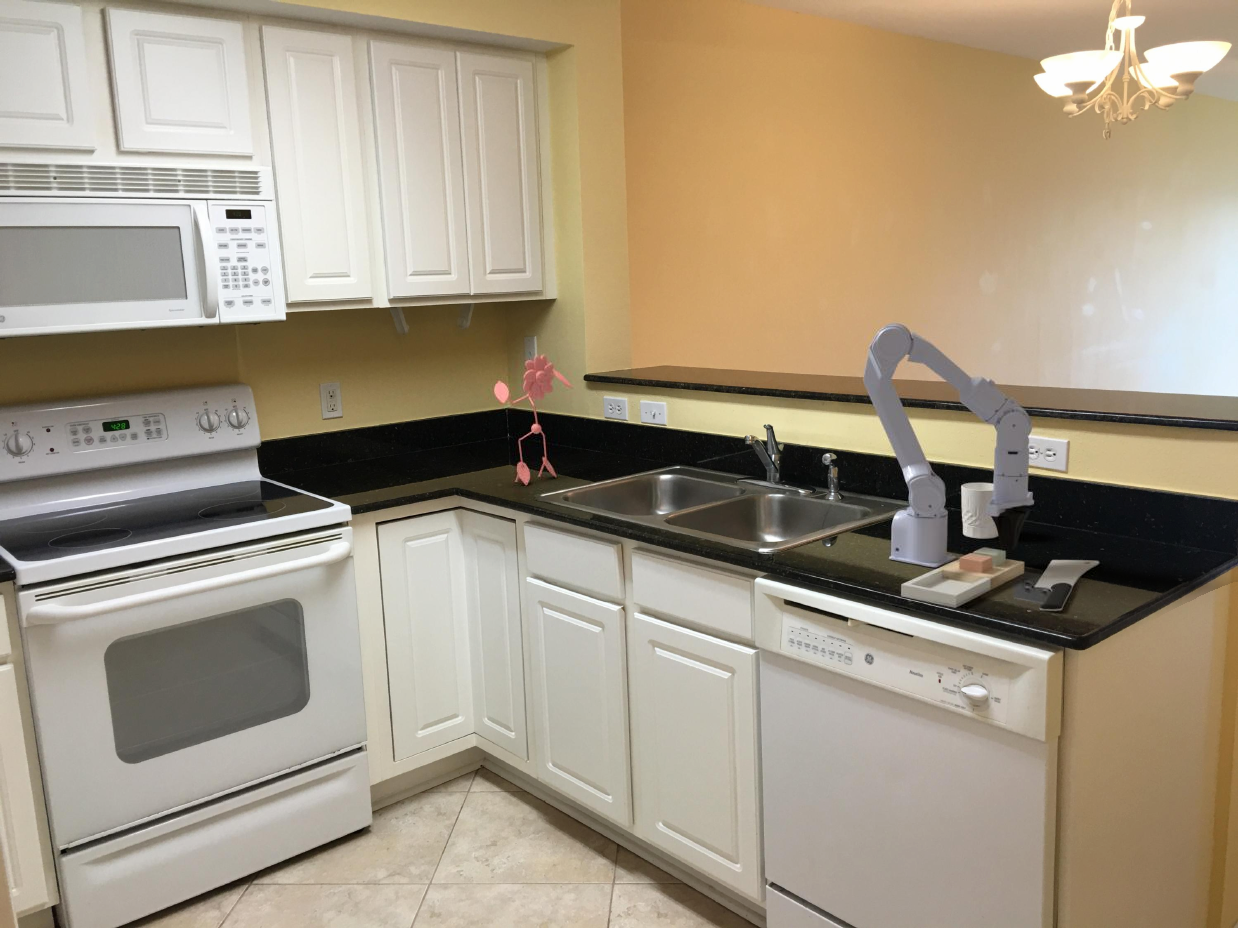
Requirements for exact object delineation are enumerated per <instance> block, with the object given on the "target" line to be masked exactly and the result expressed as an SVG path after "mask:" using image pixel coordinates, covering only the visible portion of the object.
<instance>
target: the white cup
mask: <svg viewBox="0 0 1238 928" xmlns="http://www.w3.org/2000/svg"><path fill="white" fill-rule="evenodd" d="M993 484H994V483H990V482H968V483H964V484H961V487H960V489H961V517H962V518H961V521H962V534H963V535H964V536H965V537H967V538H968V537H969V538H973V539H987V540H988V539H995V538H997V537H999V535H998V531H997V528H996V525H995V523H994V521H993V519H992V517H991V516H990V515H986V505H987V504H989V503H990V501H991V498H992V497H993Z"/></svg>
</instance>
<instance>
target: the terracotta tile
mask: <svg viewBox="0 0 1238 928" xmlns="http://www.w3.org/2000/svg"><path fill="white" fill-rule="evenodd" d="M958 559H959V569H961V570H966V571H972V572H977V573H983V572H985V571H987V570H990V569H992V563H993V557H990V556H985V555H979V554H973V552H972V553H971V552H969V553H968V554H965V555H962V556H961V557H959V558H958Z"/></svg>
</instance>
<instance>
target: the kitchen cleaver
mask: <svg viewBox="0 0 1238 928" xmlns="http://www.w3.org/2000/svg"><path fill="white" fill-rule="evenodd" d="M1099 564H1100V561H1099V560H1087V559H1086V560H1085V559H1084V560H1083V559H1080V560H1079V559H1052V560H1051V561H1050V563H1049V564H1048V565H1047V568H1046V569H1045V571H1044V572H1043V573H1042V575H1041V576H1040V578H1039V579H1038V581H1037V582H1036V584H1035V585H1034V588H1039V589H1040V588H1041V589H1045V590H1050V591H1051V592H1050V594H1049V596H1048V597H1047V598H1046V600H1045V602H1044V603H1042V604H1040V606H1039V610H1040V611H1041V612H1044V613H1050V614H1051V613H1053V614H1059V613H1061V612H1062V611H1063V610H1064V609H1063V608H1064V606H1065V604H1066V602H1067V601H1068V598H1069V596H1070V595H1071V593H1072V591H1073V587H1074V585H1075V584H1076V583H1077V581H1078V580H1079V579H1080V577H1081V576H1082V575H1084V574H1085V573H1087V571H1089V570H1091V569H1092V568H1094V567H1096V566H1098V565H1099Z"/></svg>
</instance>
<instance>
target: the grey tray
mask: <svg viewBox="0 0 1238 928" xmlns="http://www.w3.org/2000/svg"><path fill="white" fill-rule="evenodd" d="M942 577H943V570H942V569H938V568H936V569H933V570H931V571H929V572H926V573H924V574H922V575H919V576H918V577H915V578H913V579H910V580H909V581H906V582H904V583H901V587H900V591H901V593H900V597H904V598H908V599H913V600H917V601H922V602H926V603H932V604H935V605H936V604H937V605H941V606H944V607H951V608H955V609H956V608H957V607H960V606H961V605H964V604H965V603H968V602H970V601H972V600H974V599H976V598H978V597H979V596H982V595H984V594H986V593H987V592H990V591H991V590H990V580H991V579H990V578H983V579H981V580H979V581H976V582H974V583H972V584H970V583H965V582H960V581H955V580H950V579H944V578H942Z"/></svg>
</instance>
